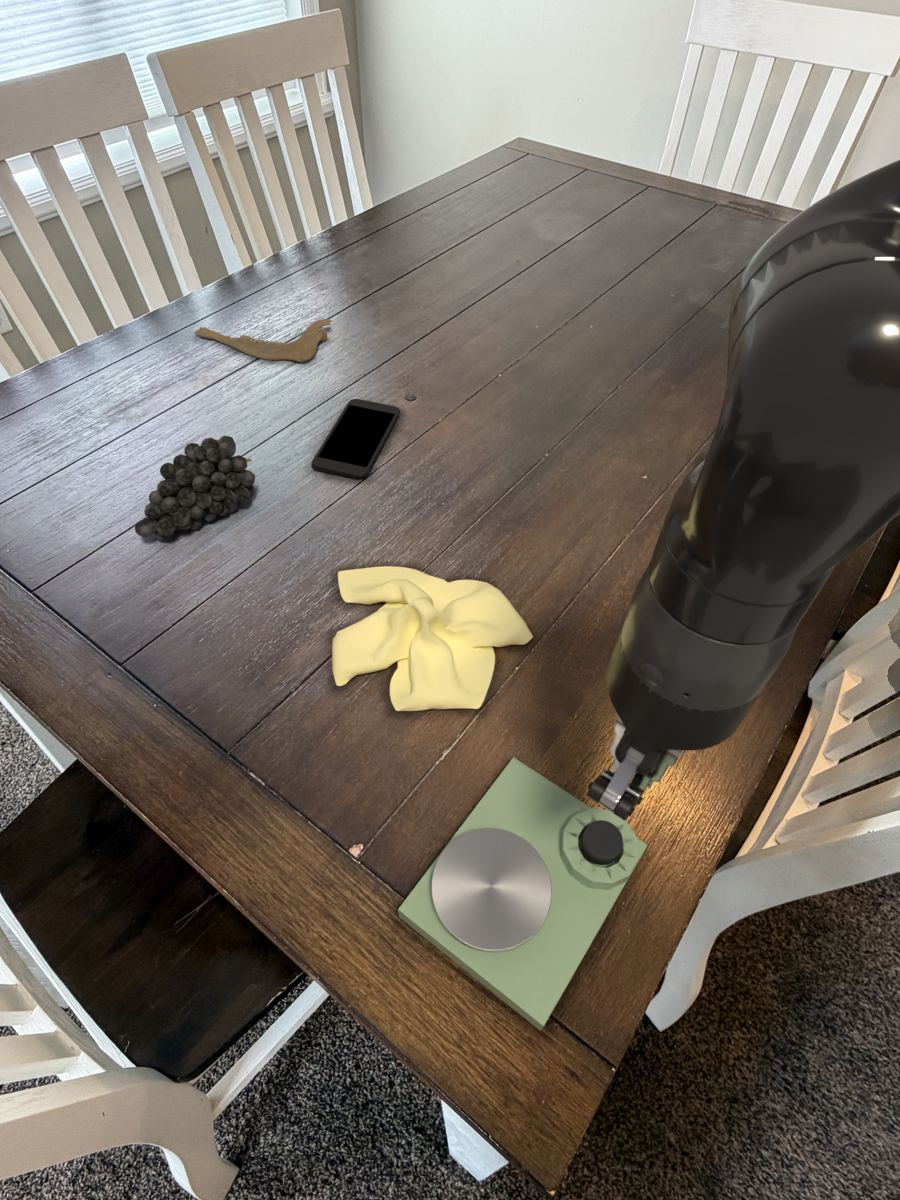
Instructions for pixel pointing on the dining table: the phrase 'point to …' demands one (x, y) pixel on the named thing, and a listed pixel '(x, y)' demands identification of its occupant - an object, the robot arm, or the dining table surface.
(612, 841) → the button
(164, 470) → the fruit
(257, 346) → the jawbone
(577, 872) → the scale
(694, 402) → the dining table surface
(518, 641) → the cloth
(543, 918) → the weighing plate
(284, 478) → the dining table surface
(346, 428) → the smartphone
